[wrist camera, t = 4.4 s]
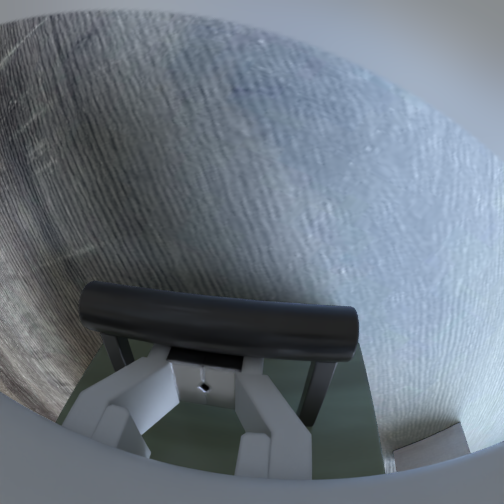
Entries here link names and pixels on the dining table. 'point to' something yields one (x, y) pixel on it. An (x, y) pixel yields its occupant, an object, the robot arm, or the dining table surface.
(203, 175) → the dining table surface
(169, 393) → the robot arm
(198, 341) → the drawer
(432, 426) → the dining table surface
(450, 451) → the light grey paper bag
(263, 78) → the dining table surface
